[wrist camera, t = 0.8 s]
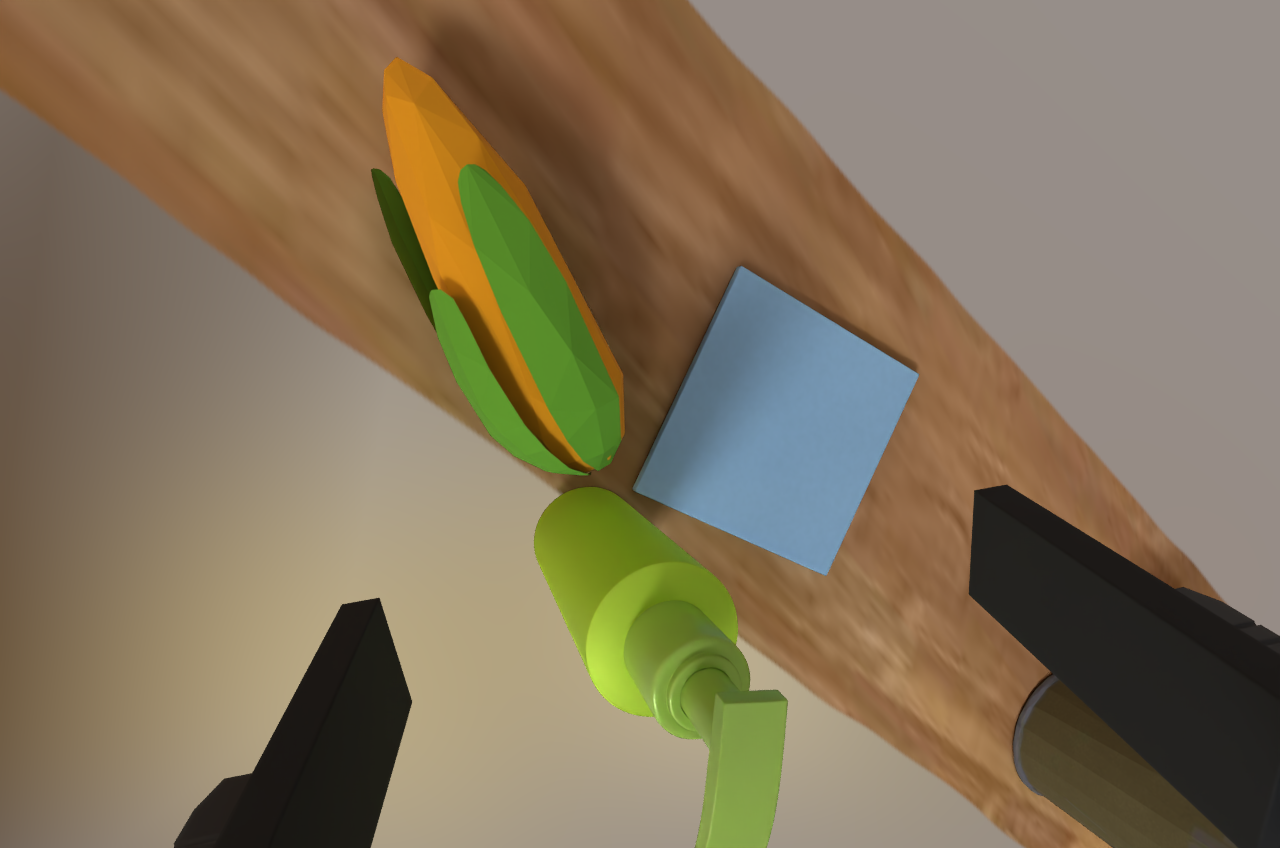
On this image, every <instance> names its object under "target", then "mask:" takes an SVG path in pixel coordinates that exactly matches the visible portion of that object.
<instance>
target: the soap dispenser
mask: <svg viewBox="0 0 1280 848" xmlns="http://www.w3.org/2000/svg"><path fill="white" fill-rule="evenodd" d="M534 548H535V554H536V558H537V560H538V563H539V565H540V568H541V570H542V572H543V574H544V576H545V579H546V581H547V583H548V585H549V587H550V590H551V592H552V594H553V596H554V598H555V600H556V603H557V605H558V607H559V609H560V611H561V613H562V616H563V618H564V620H565V622H566V624H567V627H568V629H569V631H570V633H571V635H572V638H573V640H574V642H575V644H576V647H577V649H578V651H579V653H580V655H581V657H582V660H583V662H584V664H585V666H586V669H587V671H588V673H589V675H590V677H591V679H592V682H593V683H594V685H595V687H596V688H597V690H598V691H599V693H600V694H601V695H602V696H603V697H604V698H605V699H606V700H607V701H608V702H609V703H611V704H612V705H613V706H615V707H617V708H618V709H620V710H622V711H625V712H627V713H630V714H634V715H638V716H646V717H655V718H656V720H657V721H658V723H659V724H660V725H661V726H662V727H663V728H664V729H665V730H666V731H668V732H669V733H670V734H672V735H674V736H677V737H679V738H684V739H701V738H702V739H703V740H704V742H705V744H706V745H707V746H708V748H709V759H708V767H707V777H706V786H705V795H704V802H703V809H702V816H701V821H700V827H699V832H698V837H697V841H696V845H695V848H767V845H768V842H769V838H770V834H771V830H772V826H773V821H774V817H775V811H776V806H777V800H778V793H779V786H780V778H781V769H782V760H783V750H784V739H785V728H786V716H787V705H788V701H787V699H786V698H785V697H784V696H783V695H782V694H781V693H780V692H779V691H778V690H758V691H749V687H750V672H749V668H748V664H747V661H746V659H745V658H744V655H743V654H742V652H741V651H740V650H739V648H738V647H737V646H736V642H737V635H738V622H737V614H736V610H735V606H734V603H733V601H732V598H731V596H730V594H729V593H728V591H727V589H726V588H725V587H724V585H723V584H722V583H721V582H720V581H719V580H718V579H717V578H716V577H715V576H714V575H713V574H712V573H710V572H709V571H708V570H707V569H706V568H704V567H703V566H702V565H701V564H700V563H698V562H697V561H696V560H695V559H694V558H692V557H691V556H690V555H689V554H688V553H686V552H685V551H684V550H683V549H682V548H680V547H679V546H678V545H677V544H676V543H674V542H673V541H672V540H671V539H670V538H668V537H667V536H666V535H665V534H664V533H662V532H661V531H660V530H659V529H658V528H656V527H655V526H654V525H653V524H652V523H650V522H649V521H648V520H647V519H646V518H644V517H643V516H642V515H641V514H640V513H638V512H637V511H636V510H635V509H634V508H632V507H631V506H630V505H629V504H628V503H626V502H625V501H624V500H623V499H622V498H620V497H619V496H618V495H616V494H615V493H613V492H611V491H608V490H606V489H602V488H598V487H582V488H577V489H573V490H571V491H568V492H566V493H564V494H562V495H561V496H559V497H558V498H556V499H555V500H554V501H553V502H552V503H551V504H550V505H549V506H548V507H547V508H546V509H545V511H544V512H543V514H542V515H541V517H540V519H539V521H538V524H537V527H536V530H535V536H534Z"/></svg>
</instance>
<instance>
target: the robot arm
mask: <svg viewBox="0 0 1280 848" xmlns="http://www.w3.org/2000/svg"><path fill="white" fill-rule="evenodd" d="M969 595H970V596H971V597H972V598H973V599H974V600H975V601H976V602H978V603H979V604H980V605H981V606H982V607H983V608H984V609H985V610H986V611H987V612H988V613H989V614H990V615H991V616H992V617H993V618H995V619H996V620H997V621H998V622H999V623H1000V624H1001V625H1002V626H1003V627H1004V628H1005V629H1006V630H1007V631H1008V632H1009V633H1010V634H1012V635H1013V636H1014V637H1015V638H1016V639H1017V640H1018V641H1019V642H1020V643H1021V644H1022V645H1023V646H1024V647H1025V648H1026V649H1027V650H1029V651H1030V652H1031V653H1032V654H1033V655H1034V656H1035V657H1036V658H1037V659H1038V660H1039V661H1040V662H1041V663H1042V664H1043V665H1044V666H1046V667H1047V668H1048V669H1049V670H1050V671H1051V672H1052V673H1053V674H1054V675H1055V676H1056V677H1057V678H1058V679H1059V680H1060V681H1061V682H1062V683H1064V684H1065V685H1066V686H1067V687H1068V688H1069V689H1070V690H1071V691H1072V692H1073V693H1074V694H1075V695H1076V696H1077V697H1078V698H1079V699H1081V700H1082V701H1083V702H1084V703H1085V704H1086V705H1087V706H1088V707H1089V708H1090V709H1091V710H1092V711H1093V712H1094V713H1095V714H1096V715H1098V716H1099V717H1100V718H1101V719H1102V720H1103V721H1104V722H1105V723H1106V724H1107V725H1108V726H1109V727H1110V728H1111V729H1112V730H1113V731H1115V732H1116V733H1117V734H1118V735H1119V736H1120V737H1121V738H1122V739H1123V740H1124V741H1125V742H1126V743H1127V744H1128V745H1129V746H1130V747H1132V748H1133V749H1134V750H1135V751H1136V752H1137V753H1138V754H1139V755H1140V756H1141V757H1142V758H1143V759H1144V760H1145V761H1146V762H1147V763H1149V764H1150V765H1151V766H1152V767H1153V768H1154V769H1155V770H1156V771H1157V772H1158V773H1159V774H1160V775H1161V776H1162V777H1163V778H1164V779H1166V780H1167V781H1168V782H1169V783H1170V784H1171V785H1172V786H1173V787H1174V788H1175V789H1176V790H1177V791H1178V792H1179V793H1180V794H1181V795H1183V796H1184V797H1185V798H1186V799H1187V800H1188V801H1189V802H1190V803H1191V804H1192V805H1193V806H1194V807H1195V808H1196V809H1197V810H1198V811H1199V812H1201V813H1202V814H1203V815H1204V816H1205V817H1206V818H1207V819H1208V820H1209V821H1210V822H1211V823H1212V824H1213V825H1214V826H1215V827H1216V828H1218V829H1219V830H1220V831H1221V832H1222V833H1223V834H1224V835H1225V836H1226V837H1227V838H1228V839H1229V840H1230V841H1231V842H1232V843H1233V844H1235V845H1236V846H1237V847H1238V848H1280V636H1278V635H1277V634H1275V633H1273V632H1272V631H1270V630H1269V629H1267V628H1265V627H1263V626H1262V625H1258V626H1257V625H1256V624H1255V623H1254V621H1253V620H1252V619H1250V618H1248V617H1247V616H1245V615H1243V614H1242V613H1240V612H1238V611H1237V610H1235V609H1233V608H1232V607H1230V606H1228V605H1227V604H1225V603H1223V602H1221V601H1219V600H1216V599H1213V598H1211V597H1208V596H1206V595H1203V594H1200V593H1198V592H1195V591H1192V590H1190V589H1187V588H1184V587H1182V588H1177V589H1174V588H1172V587H1171V586H1169V585H1168V584H1166V583H1164V582H1163V581H1161V580H1159V579H1158V578H1156V577H1155V576H1153V575H1151V574H1150V573H1148V572H1147V571H1145V570H1143V569H1142V568H1140V567H1138V566H1137V565H1135V564H1134V563H1132V562H1130V561H1129V560H1127V559H1126V558H1124V557H1122V556H1121V555H1119V554H1118V553H1116V552H1114V551H1113V550H1111V549H1109V548H1108V547H1106V546H1105V545H1103V544H1101V543H1100V542H1098V541H1097V540H1095V539H1093V538H1092V537H1090V536H1089V535H1087V534H1085V533H1084V532H1082V531H1080V530H1079V529H1077V528H1076V527H1074V526H1072V525H1071V524H1069V523H1068V522H1066V521H1064V520H1063V519H1061V518H1060V517H1058V516H1056V515H1055V514H1053V513H1051V512H1050V511H1048V510H1047V509H1045V508H1043V507H1042V506H1040V505H1039V504H1037V503H1035V502H1034V501H1032V500H1031V499H1029V498H1027V497H1026V496H1024V495H1022V494H1021V493H1019V492H1018V491H1016V490H1014V489H1013V488H1011V487H1010V486H1008V485H1002V486H997V487H991V488H985V489H980V490H974V508H973V526H972V545H971V563H970V582H969ZM411 704H412V700H411V696H410V693H409V690H408V687H407V684H406V681H405V677H404V674H403V671H402V668H401V665H400V662H399V658H398V655H397V652H396V649H395V646H394V643H393V639H392V636H391V633H390V630H389V627H388V624H387V620H386V617H385V614H384V611H383V608H382V605H381V602H380V598H376V599H370V600H364V601H359V602H353V603H348V604H342V606H341V607H340V609H339V611H338V613H337V615H336V617H335V619H334V620H333V622H332V624H331V626H330V628H329V630H328V632H327V634H326V635H325V637H324V639H323V641H322V643H321V645H320V647H319V649H318V651H317V652H316V654H315V656H314V658H313V660H312V662H311V664H310V666H309V667H308V669H307V671H306V673H305V675H304V677H303V679H302V681H301V683H300V684H299V686H298V688H297V690H296V692H295V694H294V696H293V698H292V699H291V701H290V703H289V705H288V707H287V709H286V711H285V713H284V715H283V717H282V718H281V720H280V722H279V724H278V726H277V728H276V730H275V732H274V733H273V735H272V737H271V739H270V741H269V743H268V745H267V747H266V748H265V750H264V752H263V754H262V756H261V758H260V760H259V762H258V764H257V765H256V767H255V769H254V771H253V773H251V774H246V775H241V776H236V777H231V778H226V779H224V780H223V781H222V782H221V783H220V784H219V785H218V786H217V787H216V788H215V789H214V790H213V791H212V792H211V793H210V794H209V795H208V796H207V797H206V798H205V799H204V800H203V801H202V802H201V803H200V804H199V805H198V806H197V808H195V809H194V811H193V812H192V814H191V816H190V818H189V819H188V821H187V822H186V824H185V826H184V828H183V829H182V831H181V833H180V834H179V836H178V838H177V839H176V841H175V843H174V848H371V844H372V841H373V837H374V834H375V830H376V827H377V823H378V820H379V816H380V813H381V809H382V806H383V802H384V799H385V795H386V792H387V788H388V784H389V781H390V778H391V774H392V771H393V767H394V764H395V760H396V757H397V753H398V750H399V746H400V743H401V739H402V736H403V732H404V729H405V725H406V721H407V718H408V714H409V711H410V708H411Z"/></svg>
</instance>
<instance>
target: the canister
mask: <svg viewBox="0 0 1280 848" xmlns="http://www.w3.org/2000/svg"><path fill="white" fill-rule="evenodd" d="M1013 752H1014V762H1015V766H1016V770H1017V773H1018V775H1019V777H1020V778H1021V780H1022V782H1023V783H1024V784H1025V785H1026V786H1027V787H1028V788H1029V789H1030V790H1031V791H1033V792H1035V793H1036V794H1038V795H1041V796H1044V797H1046V798H1047V799H1048V800H1050V801H1051V802H1052V803H1054V804H1055V805H1056V806H1058V807H1059V808H1060V809H1062V810H1063V811H1064V812H1066V813H1067V814H1069V815H1070V816H1071V817H1073V818H1074V819H1075V820H1077V821H1078V822H1079V823H1081V824H1082V825H1083V826H1085V827H1086V828H1087V829H1089V830H1090V831H1091V832H1093V833H1094V834H1095V835H1097V836H1098V837H1099V838H1101V839H1102V840H1103V841H1105V842H1106V843H1107V844H1109V845H1110V846H1111V847H1113V848H1238V847H1237V846H1236V845H1235V844H1233V843H1232V842H1231V841H1230V840H1229V839H1228V838H1227V837H1226V836H1225V835H1224V834H1223V833H1222V832H1221V831H1220V830H1219V829H1218V828H1216V827H1215V826H1214V825H1213V824H1212V823H1211V822H1210V821H1209V820H1208V819H1207V818H1206V817H1205V816H1204V815H1203V814H1202V813H1201V812H1199V811H1198V810H1197V809H1196V808H1195V807H1194V806H1193V805H1192V804H1191V803H1190V802H1189V801H1188V800H1187V799H1186V798H1185V797H1184V796H1183V795H1181V794H1180V793H1179V792H1178V791H1177V790H1176V789H1175V788H1174V787H1173V786H1172V785H1171V784H1170V783H1169V782H1168V781H1167V780H1166V779H1164V778H1163V777H1162V776H1161V775H1160V774H1159V773H1158V772H1157V771H1156V770H1155V769H1154V768H1153V767H1152V766H1151V765H1150V764H1149V763H1147V762H1146V761H1145V760H1144V759H1143V758H1142V757H1141V756H1140V755H1139V754H1138V753H1137V752H1136V751H1135V750H1134V749H1133V748H1132V747H1130V746H1129V745H1128V744H1127V743H1126V742H1125V741H1124V740H1123V739H1122V738H1121V737H1120V736H1119V735H1118V734H1117V733H1116V732H1115V731H1113V730H1112V729H1111V728H1110V727H1109V726H1108V725H1107V724H1106V723H1105V722H1104V721H1103V720H1102V719H1101V718H1100V717H1099V716H1098V715H1096V714H1095V713H1094V712H1093V711H1092V710H1091V709H1090V708H1089V707H1088V706H1087V705H1086V704H1085V703H1084V702H1083V701H1082V700H1081V699H1079V698H1078V697H1077V696H1076V695H1075V694H1074V693H1073V692H1072V691H1071V690H1070V689H1069V688H1068V687H1067V686H1066V685H1065V684H1064V683H1062V682H1061V681H1060V680H1059V679H1058V678H1057V677H1056V676H1055V675H1054V674H1053V675H1051V676H1049V677H1048V678H1047V679H1046V680H1045V681H1044V682H1043V683H1042V684H1041V685H1040V686H1039V687H1038V688H1037V689H1036V690H1035V691H1034V692H1033V694H1032V695H1031V696H1030V698H1029V699H1028V701H1027V703H1026V704H1025V706H1024V708H1023V710H1022V712H1021V714H1020V716H1019V718H1018V722H1017V726H1016V730H1015V735H1014V741H1013Z"/></svg>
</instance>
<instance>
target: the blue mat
mask: <svg viewBox="0 0 1280 848" xmlns="http://www.w3.org/2000/svg"><path fill="white" fill-rule="evenodd" d="M918 376H919V374H918V373H916V372H915V371H913V370H911V369H910V368H908V367H906V366H905V365H903V364H901V363H900V362H898V361H897V360H895V359H893V358H892V357H890V356H888V355H887V354H885V353H883V352H882V351H880V350H879V349H877V348H875V347H874V346H872V345H870V344H869V343H867V342H865V341H864V340H862V339H860V338H859V337H857V336H856V335H854V334H852V333H851V332H849V331H847V330H846V329H844V328H842V327H841V326H839V325H838V324H836V323H834V322H833V321H831V320H829V319H828V318H826V317H824V316H823V315H821V314H820V313H818V312H816V311H815V310H813V309H811V308H810V307H808V306H806V305H805V304H803V303H801V302H800V301H798V300H797V299H795V298H793V297H792V296H790V295H788V294H787V293H785V292H783V291H782V290H780V289H779V288H777V287H775V286H774V285H772V284H770V283H769V282H767V281H765V280H764V279H762V278H761V277H759V276H757V275H756V274H754V273H752V272H751V271H749V270H747V269H746V268H744V267H742V266H739V267H737V268H736V270H735V272H734V274H733V276H732V279H731V281H730V283H729V285H728V287H727V289H726V291H725V293H724V296H723V298H722V300H721V302H720V304H719V306H718V308H717V310H716V313H715V315H714V317H713V319H712V321H711V323H710V325H709V327H708V329H707V332H706V334H705V336H704V338H703V340H702V342H701V344H700V346H699V349H698V351H697V353H696V355H695V357H694V359H693V361H692V363H691V366H690V368H689V370H688V372H687V374H686V376H685V378H684V380H683V383H682V385H681V387H680V389H679V391H678V393H677V395H676V397H675V399H674V402H673V404H672V406H671V408H670V410H669V412H668V414H667V416H666V419H665V421H664V423H663V425H662V427H661V429H660V431H659V433H658V436H657V438H656V440H655V442H654V444H653V446H652V448H651V450H650V453H649V455H648V457H647V459H646V461H645V463H644V465H643V467H642V469H641V472H640V474H639V476H638V478H637V480H636V482H635V484H634V486H633V490H634V491H635V492H637V493H639V494H642V495H644V496H646V497H648V498H651V499H653V500H655V501H657V502H660V503H662V504H664V505H666V506H669V507H671V508H673V509H676V510H678V511H680V512H682V513H685V514H687V515H689V516H691V517H694V518H696V519H698V520H700V521H703V522H705V523H707V524H709V525H712V526H714V527H716V528H719V529H721V530H723V531H725V532H728V533H730V534H732V535H734V536H737V537H739V538H741V539H743V540H746V541H748V542H750V543H752V544H755V545H757V546H759V547H762V548H764V549H766V550H768V551H771V552H773V553H775V554H777V555H780V556H782V557H784V558H786V559H789V560H791V561H793V562H795V563H798V564H800V565H802V566H805V567H807V568H809V569H811V570H814V571H816V572H818V573H820V574H823V575H825V576H826V575H827V573H828V571H829V569H830V567H831V565H832V562H833V560H834V558H835V556H836V554H837V552H838V549H839V547H840V545H841V543H842V541H843V539H844V536H845V534H846V532H847V530H848V528H849V526H850V523H851V521H852V519H853V517H854V515H855V513H856V510H857V508H858V506H859V504H860V502H861V500H862V497H863V495H864V493H865V491H866V489H867V487H868V484H869V482H870V480H871V478H872V476H873V474H874V471H875V469H876V467H877V465H878V463H879V461H880V459H881V456H882V454H883V452H884V450H885V448H886V446H887V443H888V441H889V439H890V437H891V435H892V433H893V430H894V428H895V426H896V424H897V422H898V420H899V417H900V415H901V413H902V411H903V409H904V407H905V404H906V402H907V400H908V398H909V396H910V394H911V391H912V389H913V387H914V385H915V383H916V381H917V378H918Z"/></svg>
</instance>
